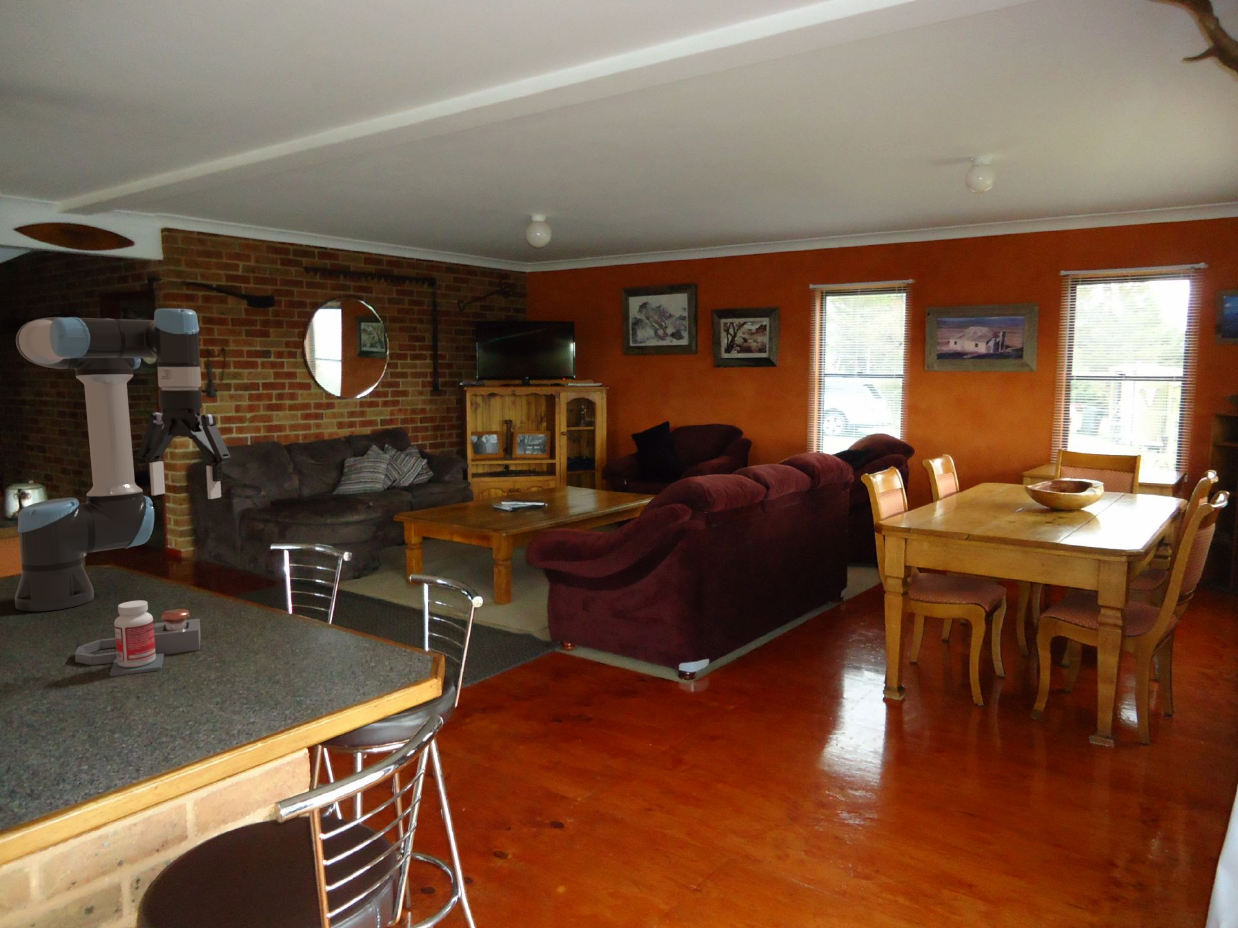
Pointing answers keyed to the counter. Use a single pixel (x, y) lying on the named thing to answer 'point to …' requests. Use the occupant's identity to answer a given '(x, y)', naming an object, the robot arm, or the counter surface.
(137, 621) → the pill bottle
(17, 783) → the counter surface
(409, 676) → the counter surface
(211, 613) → the counter surface
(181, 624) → the plunger
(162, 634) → the housing
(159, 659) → the mat
